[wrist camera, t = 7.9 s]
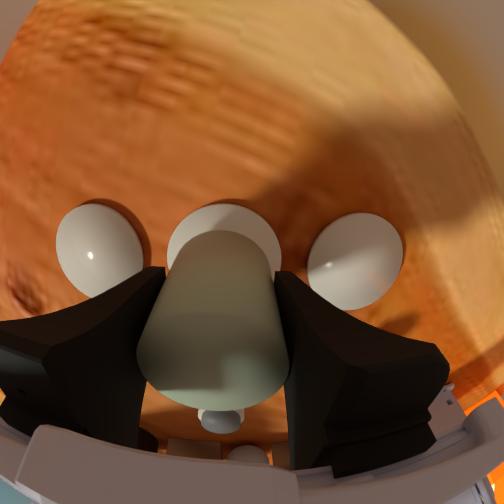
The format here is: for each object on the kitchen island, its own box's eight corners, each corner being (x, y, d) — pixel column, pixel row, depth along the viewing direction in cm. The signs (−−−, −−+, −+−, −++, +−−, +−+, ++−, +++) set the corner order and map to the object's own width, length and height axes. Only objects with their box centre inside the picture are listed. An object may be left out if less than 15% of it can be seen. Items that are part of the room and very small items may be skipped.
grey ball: (269, 437, 21) (273, 473, 17) (265, 453, 22) (268, 485, 19) (225, 437, 20) (225, 474, 17) (226, 453, 22) (226, 485, 18)
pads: (408, 216, 13) (412, 219, 13) (385, 304, 15) (388, 308, 15) (53, 205, 12) (49, 206, 12) (70, 293, 14) (67, 296, 14)
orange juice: (480, 414, 27) (519, 488, 9) (443, 437, 28) (479, 520, 9) (496, 389, 24) (545, 470, 6) (458, 414, 25) (504, 509, 6)
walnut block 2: (321, 431, 21) (332, 474, 16) (325, 449, 23) (334, 485, 18) (271, 443, 21) (275, 486, 17) (281, 459, 23) (285, 496, 19)
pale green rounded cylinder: (272, 229, 11) (297, 309, 6) (268, 314, 13) (282, 409, 8) (167, 231, 11) (118, 308, 6) (179, 315, 13) (155, 406, 8)
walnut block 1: (220, 441, 21) (219, 485, 16) (222, 459, 23) (221, 497, 18) (168, 436, 21) (162, 479, 16) (176, 455, 23) (172, 492, 18)
